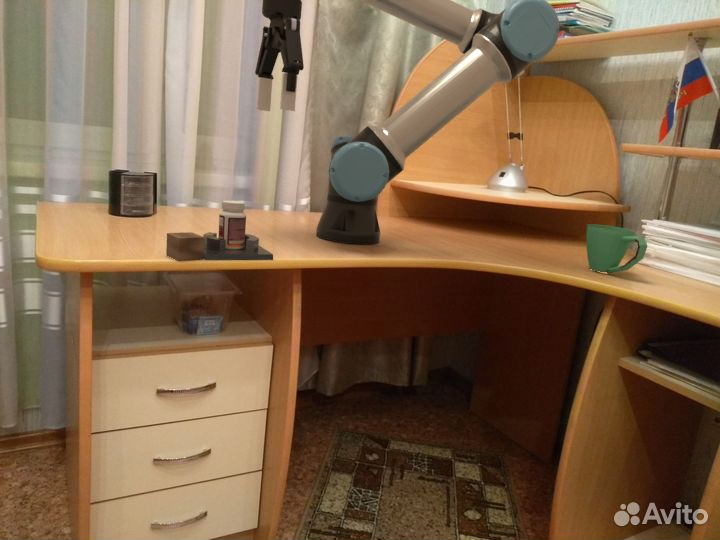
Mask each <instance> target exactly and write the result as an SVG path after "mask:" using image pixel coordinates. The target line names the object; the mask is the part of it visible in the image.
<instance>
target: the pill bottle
mask: <svg viewBox="0 0 720 540" xmlns="http://www.w3.org/2000/svg"><path fill="white" fill-rule="evenodd" d="M221 209H222V210H221V211H220V212H219V216H218V217H219V219H218V235H217V236H218V237H217V238H221V239H226V248H225V249H232V250H235V249H243V248H244V246H245V234H246V228H247V227H246V225H247V214H246V212H244V211H245V209H246V203H245V202H244V201H242V200H232V199H231V200H225V199H224V200H222V202H221Z"/></svg>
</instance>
